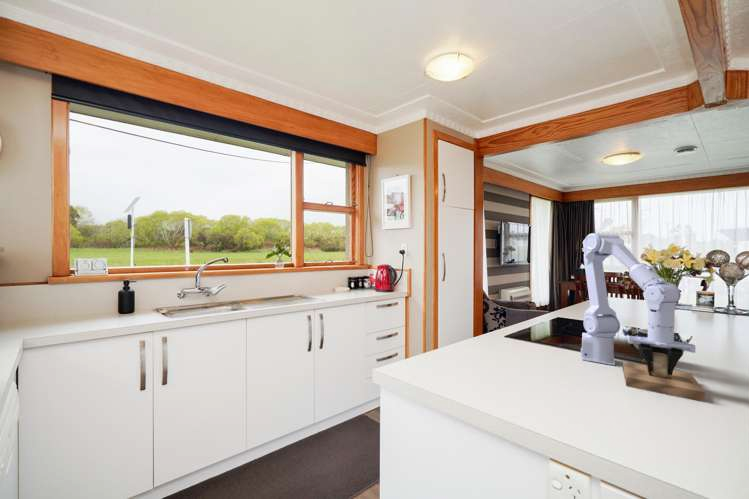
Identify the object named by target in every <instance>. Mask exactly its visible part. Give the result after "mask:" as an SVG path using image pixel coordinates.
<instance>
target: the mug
mask: <svg viewBox="0 0 749 499" xmlns="http://www.w3.org/2000/svg"><path fill="white" fill-rule="evenodd" d="M630 336H636V337H648V328H647V329H646V328H640V329H638V330H637V332H635V333H633V334H631V335H630ZM629 345H630V347H631V348H632V349H633V350H634V351H636V352H638V353H639V356H640V358H641V360H643V359H645V356H644V353H643V351H642V349H641V347H640V345H639V344H637V345H638V348H637V347H636V346H635V345H634V343H633V344H630V343H629ZM651 350H652V353H653V352H655V353H662V354H666V355H668V348H661V347H654V346H651ZM645 360H646V359H645ZM651 362H652V355H651Z"/></svg>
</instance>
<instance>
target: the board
mask: <svg viewBox="0 0 749 499" xmlns="http://www.w3.org/2000/svg"><path fill="white" fill-rule="evenodd" d="M651 367H652V365H651ZM622 371H623V375H624V376H623V377H624V381H625V386H626V387H629V388H630V387H631V388H633V389H634V388H635V389H640V390H644V389H645V391H649V390H650V391H649V392H654V391H655V393H659V392H660V393H659V394H664V393H665V395H668V394H670V395H669V396H673V395H674V396H675V397H678V398H679V397H680V398H682V399H683V398H685V399H689V400H693V401H700V402H703V403H705V402H706V392H705V390H704V389H703V387H702V386H701V384H700V383H699V382H698V380H696V378H695V376H694V375H693V374H692V373H691V372H686V371H680V370H673V373H672V375H669V374H668V379H665V378H659V377H654V376H651V372H650V371H648V369H647V364H646V365H644V364H639V363H633V362H627V361H623V362H622Z"/></svg>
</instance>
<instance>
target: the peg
mask: <svg viewBox="0 0 749 499" xmlns="http://www.w3.org/2000/svg"><path fill="white" fill-rule="evenodd" d="M651 366H652V371H651V376H654V377H659V378H665V379H668V355H666V354H662V353H655V352H653V353H652V363H651Z"/></svg>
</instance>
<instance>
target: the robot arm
mask: <svg viewBox="0 0 749 499" xmlns="http://www.w3.org/2000/svg"><path fill="white" fill-rule="evenodd" d="M582 245H583V246H582V248H583V253H584V254H583V263H584V264H583V265H584V270H585V278H586V279H585V280H586V286H587V291H588V299H589V300H588V301H589V307H588V308H587V309H586V310H585V311H584V313H583V316H584V318H583V328H584V330H585V331H586V332H582V334H581V336H582V337H581V348H580V354H581V360H583V361H588V362H594V363H599V364H605V365H610V366H616V361H615V357H614V351H615V350H614V345H615V337H616V334H617V333H618V332H620V330H621V323H620V319H618V317H617V312H616V311H615V310H614V309H613V308H611V307H610V304H609V296H608V291H607V284H606V283H607V282H606V277H605V276H606V275H605V270H604V264H603V263H604V261H605V260H606V259H607V258H609V257H610V256H612V255H613V256H614V257H615V258H616V260H618V261H619V263H621V264H622V265H623V266H624V267H626V268H627V269H628V270H629V273H628V274H629V275H628V276H629V278H631V279H632V280H633V281H634V283H636V284H637V286H638V287H639V288H640V289H641V290H642V291H643V292H642V295H643V298H644V299H645V301H646V307H647V309H648V312H647V313H648V315H647V329H648V337H638V336H637V335H636V336H631V335H628V341H627V342H628V344H629V345H630V344H633V345H634V344H635V345H638V344H639V345H640V347H641V349H642V351H643V353H644V356H645V359H646V361H645V363H646V366H647V369H648V371H650V372H651V371H652V367H651V366H652V363H651V355H652V350H651V346H654V347H661V348H668V374H669V375H672V373H673V370H674V369H675V367H676V365H677V363H678V362H679V361H680V359H681V358H682V357H683V356H684V355H683V352H684V351H685V352H690V353H693V354H696V349H697V348H696V345H695V344H694V343H686V342H680V341H676V340H675V338H674V337H675V312H676V310H675V309H676V303H678V302H679V301H680V299H681V296H682V295H681V294H682V293H681V290H680V289H679V288H678V286H677V285H676V284H674V283H670V282H667V281H666V279H664V278H662V277H661V276H660V275H659V274H658V273H657V272H656V271H655V270H654V269H655V268H654V267H653V266H652V265H648V264H647V263H645V264H644V263H641V262H640V261H639V260H638V259H637V258H636V257H635V255H634V254H633V253H632V252H631V251H630V249H628V247H627V246H626V245H625V241H624V240H623V239H622V238H621V237H620V236H619V235H618V234H615V233H610V234H608V233H606V234H605V233H594V232H592V233H589V234H588V235H586V237H585V238H584V239H583V241H582ZM639 345H638V346H639Z"/></svg>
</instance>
